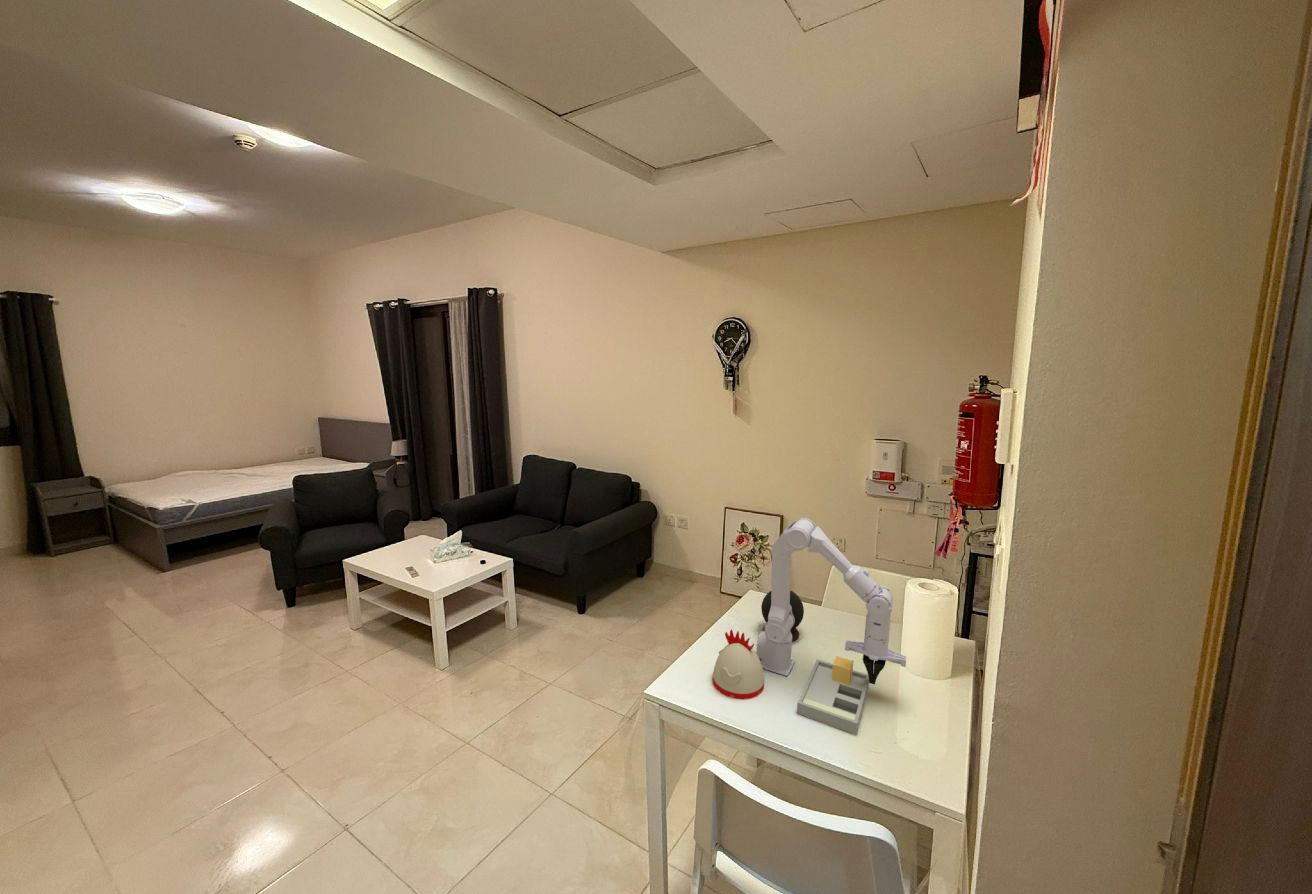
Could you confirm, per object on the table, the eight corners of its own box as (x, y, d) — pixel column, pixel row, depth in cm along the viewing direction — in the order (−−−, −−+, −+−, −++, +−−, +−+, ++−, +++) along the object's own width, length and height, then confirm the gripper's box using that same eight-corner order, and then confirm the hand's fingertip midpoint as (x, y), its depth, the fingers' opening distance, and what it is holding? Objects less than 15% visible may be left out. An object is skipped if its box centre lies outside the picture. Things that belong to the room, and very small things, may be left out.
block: (831, 679, 134) (832, 664, 133) (834, 670, 137) (836, 656, 137) (849, 685, 131) (850, 669, 131) (852, 676, 135) (853, 661, 134)
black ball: (752, 626, 164) (754, 583, 161) (787, 620, 168) (790, 578, 165) (773, 648, 151) (776, 602, 149) (810, 641, 155) (813, 596, 153)
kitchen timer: (724, 661, 145) (726, 613, 142) (770, 676, 138) (773, 627, 135) (704, 688, 133) (705, 636, 130) (753, 706, 126) (756, 652, 124)
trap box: (796, 713, 124) (797, 702, 123) (816, 668, 141) (816, 659, 141) (856, 735, 117) (857, 723, 116) (868, 685, 135) (869, 675, 134)
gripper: (844, 633, 128) (840, 681, 131) (906, 650, 121) (901, 700, 123) (849, 621, 134) (845, 666, 137) (908, 636, 127) (904, 684, 129)
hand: (872, 681), depth 130 cm, fingers closed
